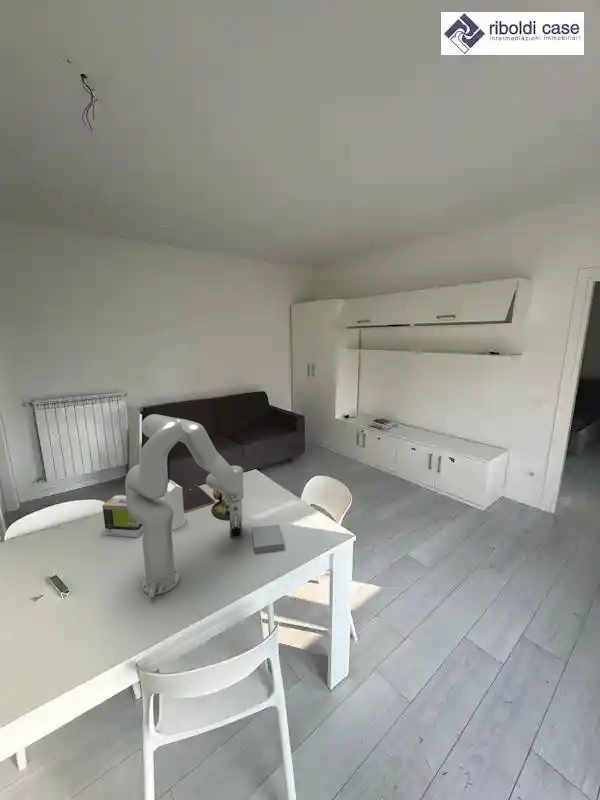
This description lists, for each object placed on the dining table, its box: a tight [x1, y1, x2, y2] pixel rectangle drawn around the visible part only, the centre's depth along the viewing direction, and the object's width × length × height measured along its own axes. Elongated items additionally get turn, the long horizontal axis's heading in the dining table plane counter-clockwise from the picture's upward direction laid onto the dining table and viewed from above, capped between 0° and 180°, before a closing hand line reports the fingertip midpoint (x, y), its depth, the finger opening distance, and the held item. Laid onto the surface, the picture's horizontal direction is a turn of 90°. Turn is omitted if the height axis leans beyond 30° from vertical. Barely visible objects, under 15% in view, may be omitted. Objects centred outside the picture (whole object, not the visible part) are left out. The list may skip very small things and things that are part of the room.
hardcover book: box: [182, 484, 216, 514], centre depth 179 cm, size 16×23×2 cm
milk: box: [163, 478, 186, 532], centre depth 153 cm, size 6×6×22 cm
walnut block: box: [229, 519, 243, 539], centre depth 148 cm, size 5×5×8 cm
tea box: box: [101, 494, 145, 538], centre depth 149 cm, size 15×10×15 cm
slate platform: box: [251, 524, 285, 555], centre depth 144 cm, size 14×12×3 cm
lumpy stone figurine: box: [211, 489, 230, 521], centre depth 166 cm, size 18×12×17 cm, turn 42°
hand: (235, 531), depth 149 cm, fingers closed on walnut block, 5 cm apart
